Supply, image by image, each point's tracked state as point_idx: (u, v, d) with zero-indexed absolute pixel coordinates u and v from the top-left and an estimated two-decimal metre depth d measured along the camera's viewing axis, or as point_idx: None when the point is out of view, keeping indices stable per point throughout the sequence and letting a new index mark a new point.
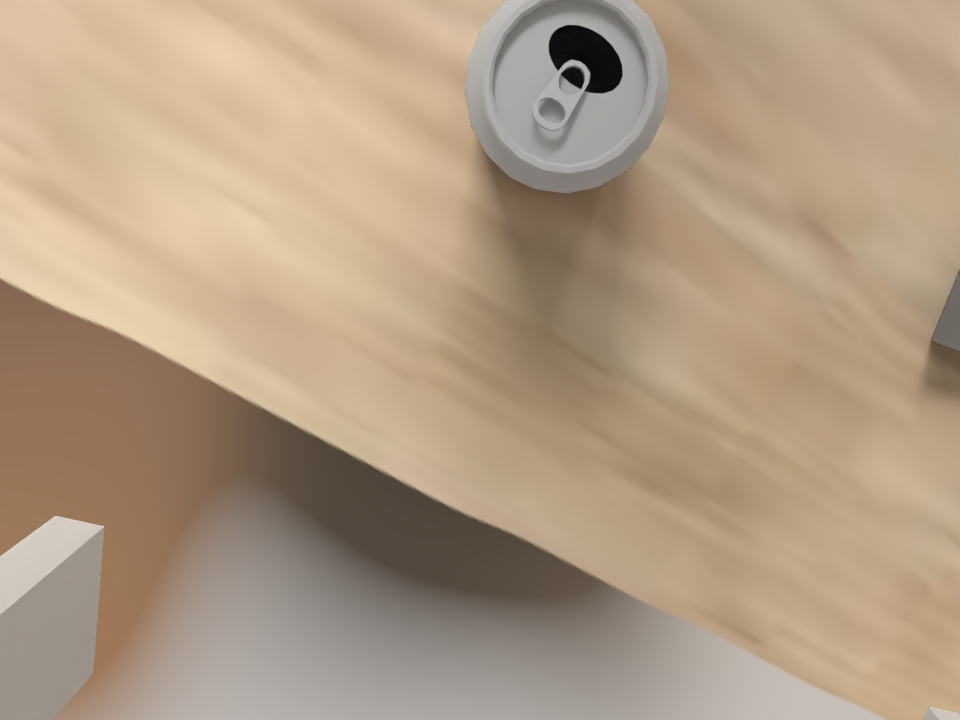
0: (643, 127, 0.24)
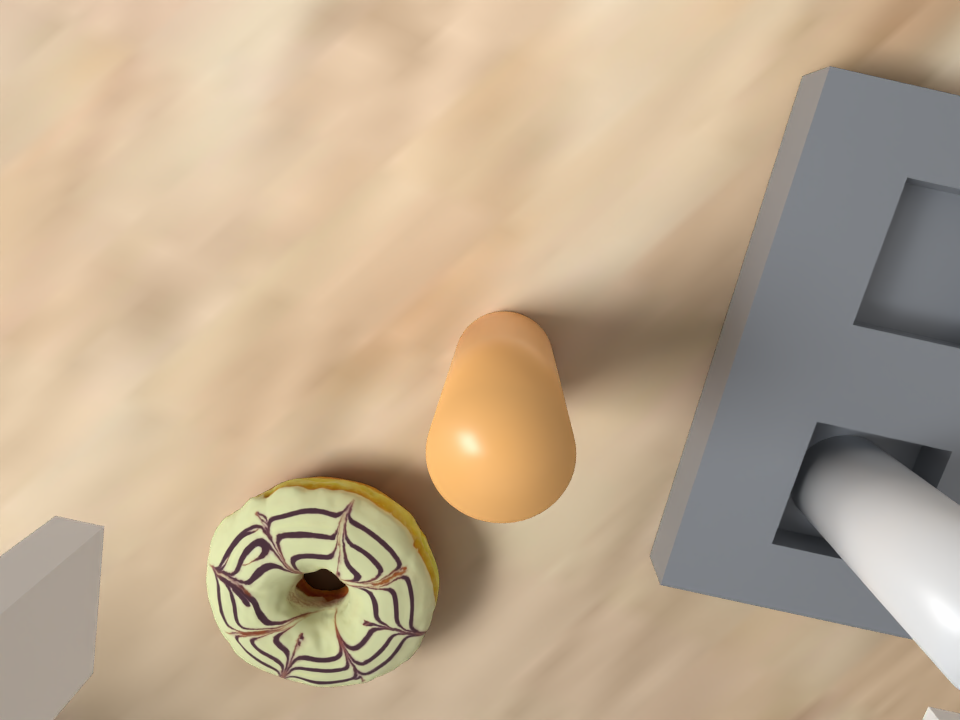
0: None
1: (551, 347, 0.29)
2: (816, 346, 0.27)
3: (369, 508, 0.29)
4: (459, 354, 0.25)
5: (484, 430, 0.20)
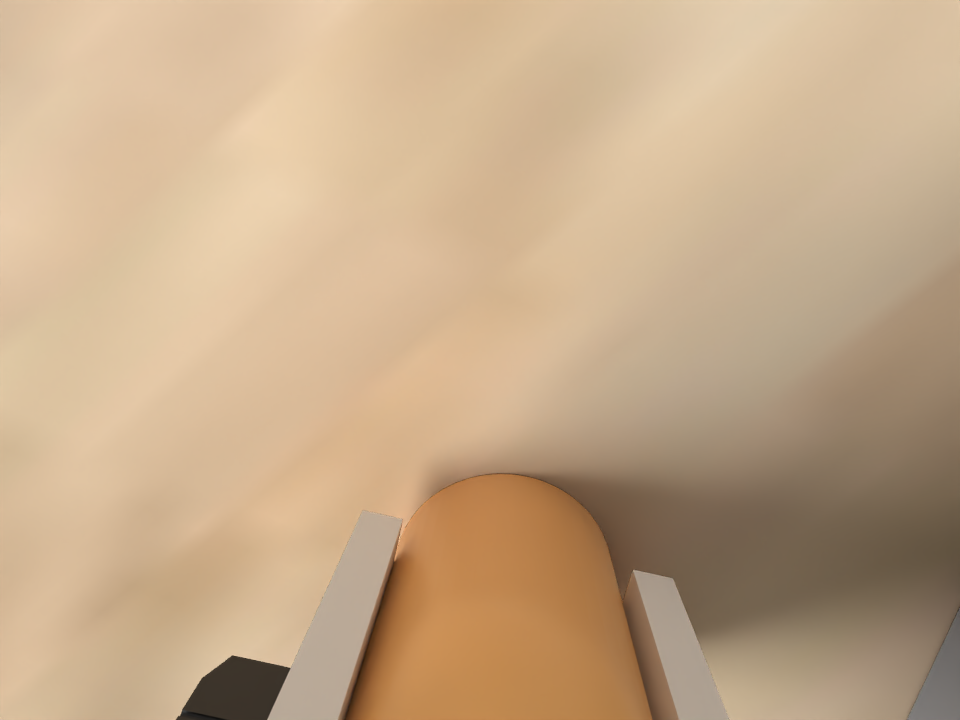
0: None
1: (611, 562, 0.13)
2: None
3: None
4: (371, 683, 0.09)
5: None
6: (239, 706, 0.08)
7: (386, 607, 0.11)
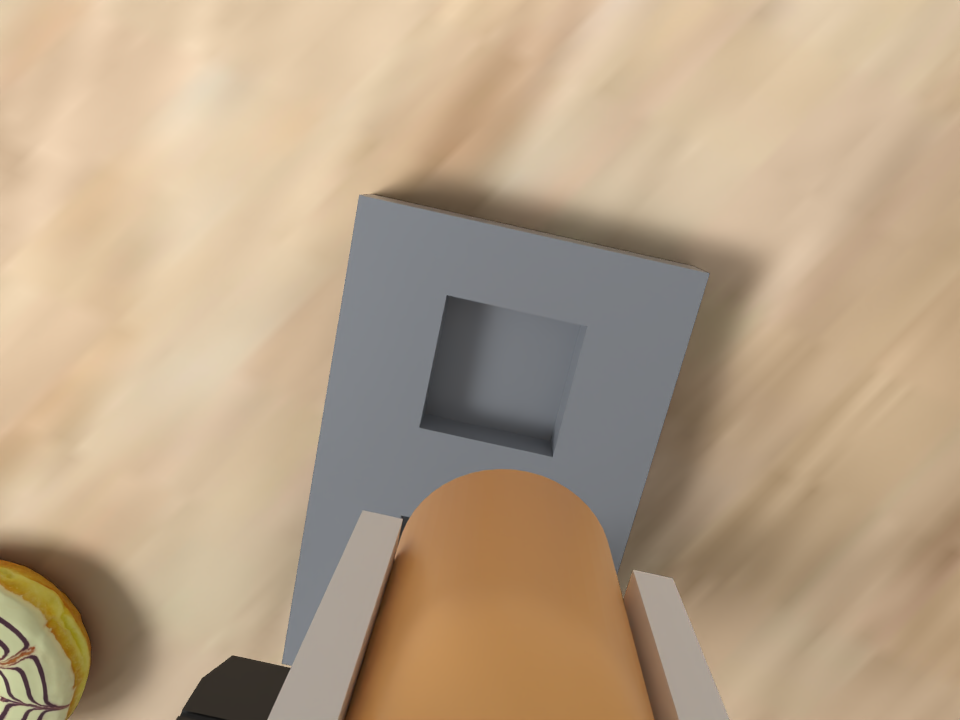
0: None
1: (611, 556, 0.13)
2: (389, 446, 0.29)
3: None
4: (373, 673, 0.09)
5: None
6: (239, 706, 0.08)
7: (388, 600, 0.11)
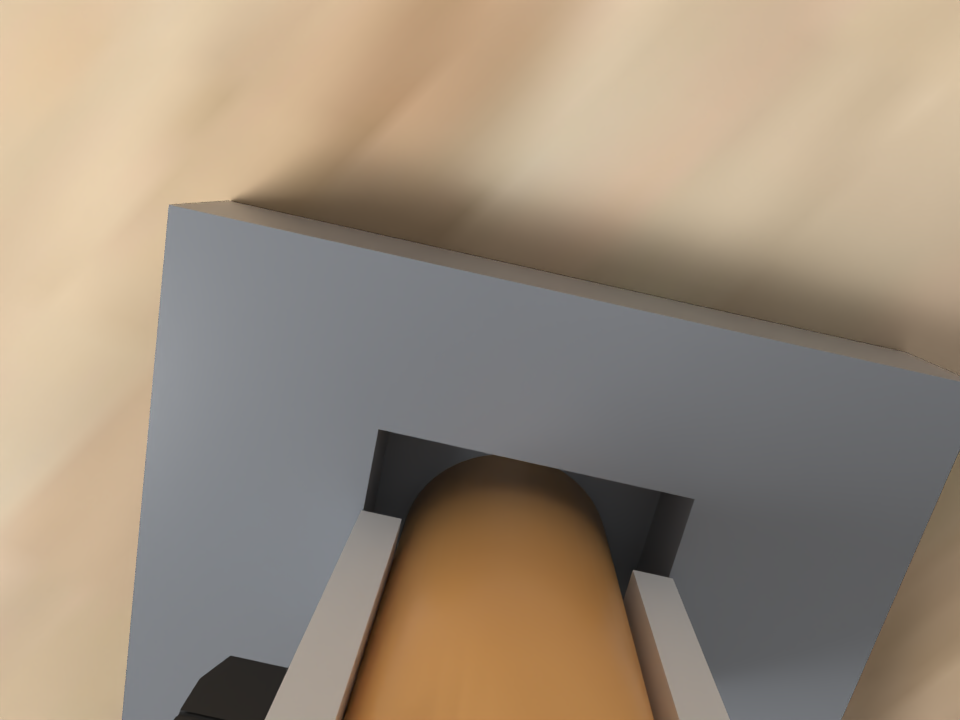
0: None
1: (605, 536, 0.14)
2: None
3: None
4: (383, 637, 0.10)
5: None
6: (237, 706, 0.08)
7: (395, 574, 0.11)
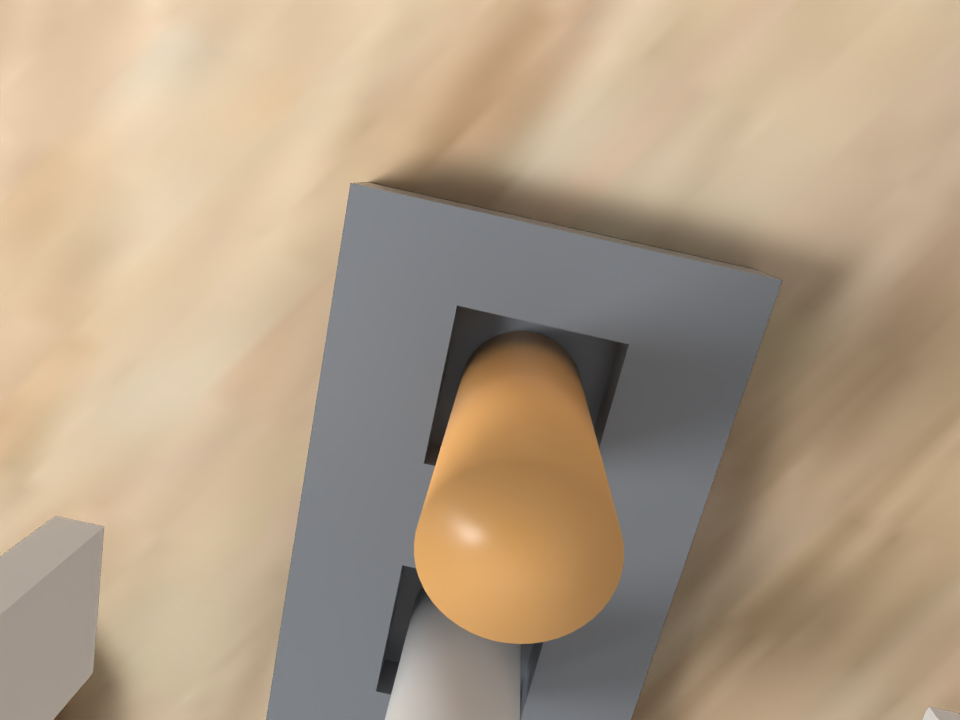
0: None
1: (579, 376, 0.24)
2: (388, 485, 0.24)
3: None
4: (464, 393, 0.20)
5: (495, 521, 0.14)
6: None
7: (465, 380, 0.22)
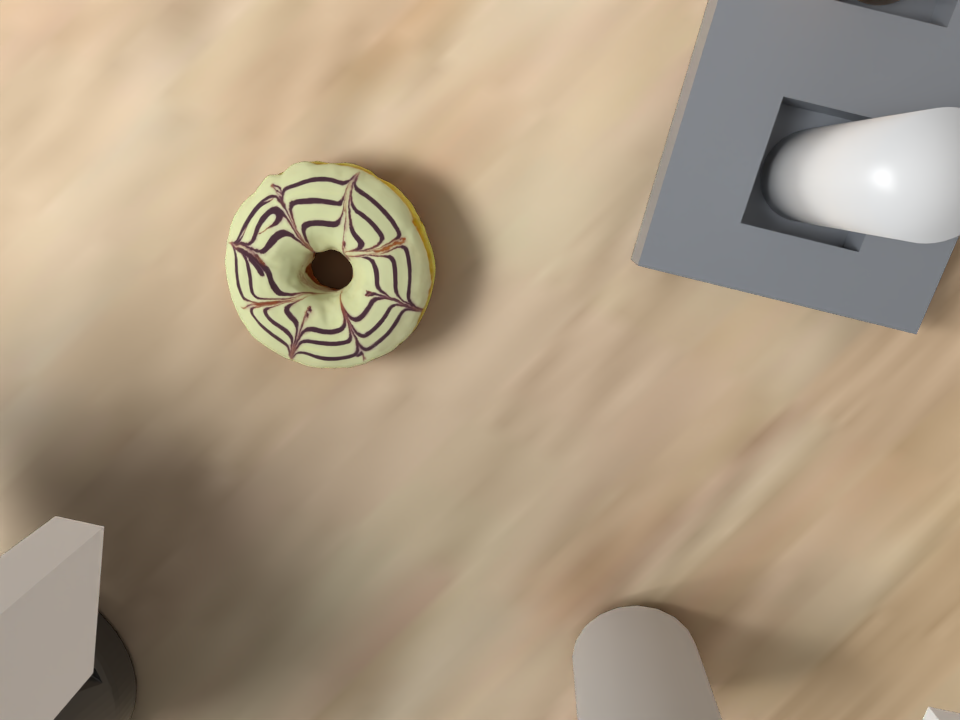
0: None
1: None
2: (784, 18, 0.30)
3: (373, 180, 0.32)
4: None
5: None
6: None
7: None
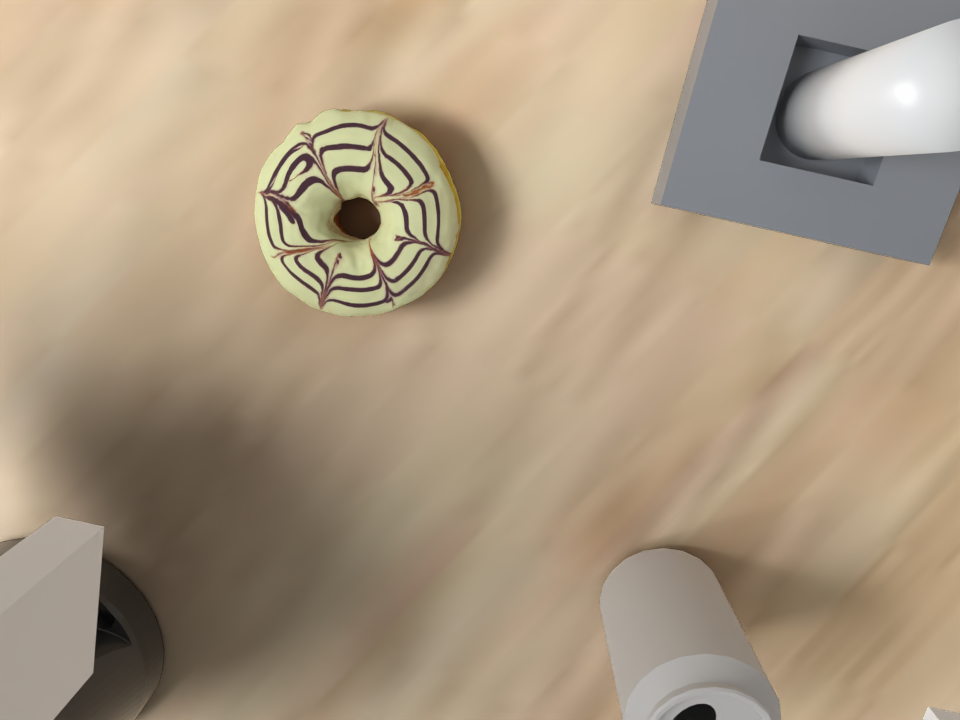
0: (748, 698, 0.30)
1: None
2: None
3: (401, 125, 0.33)
4: None
5: None
6: None
7: None
